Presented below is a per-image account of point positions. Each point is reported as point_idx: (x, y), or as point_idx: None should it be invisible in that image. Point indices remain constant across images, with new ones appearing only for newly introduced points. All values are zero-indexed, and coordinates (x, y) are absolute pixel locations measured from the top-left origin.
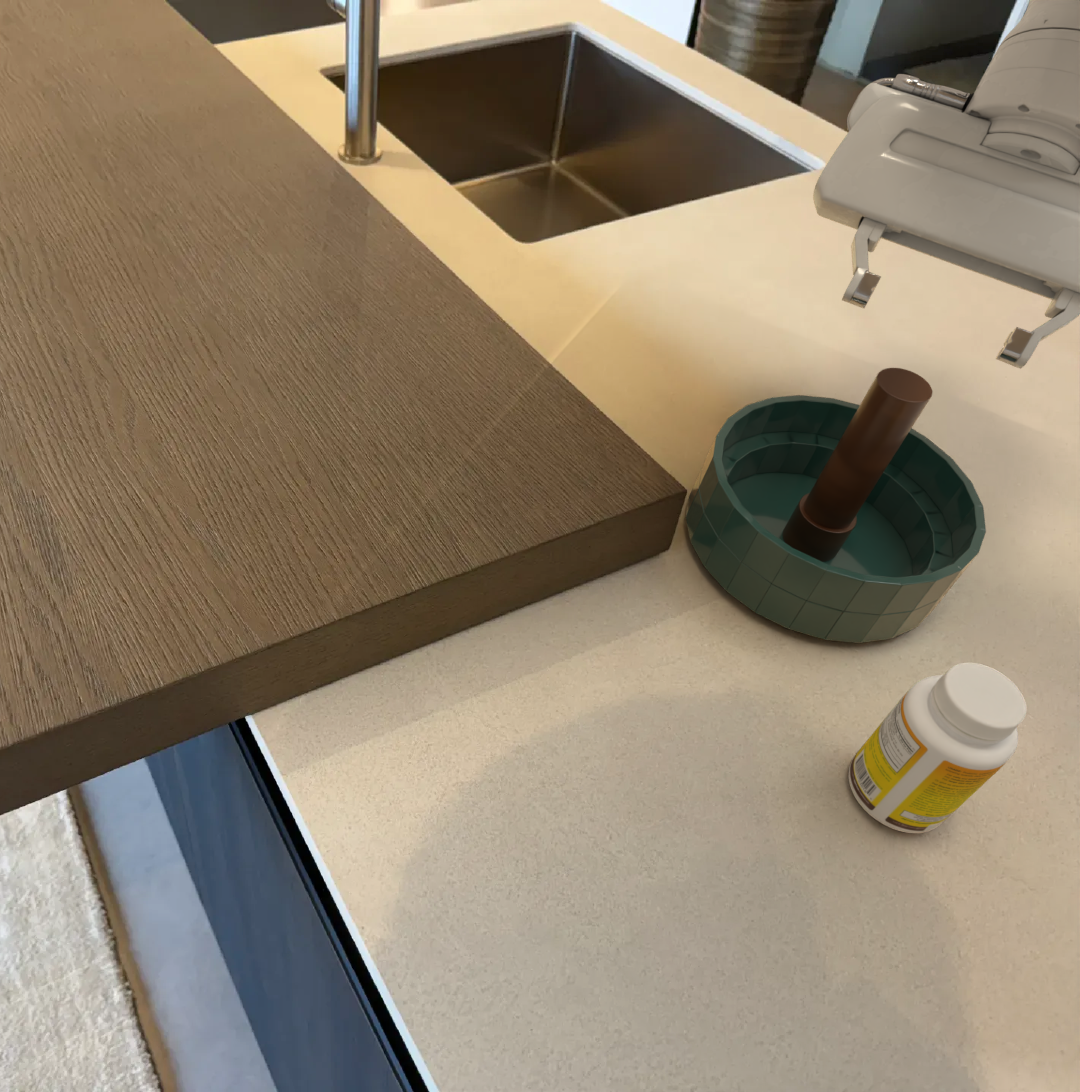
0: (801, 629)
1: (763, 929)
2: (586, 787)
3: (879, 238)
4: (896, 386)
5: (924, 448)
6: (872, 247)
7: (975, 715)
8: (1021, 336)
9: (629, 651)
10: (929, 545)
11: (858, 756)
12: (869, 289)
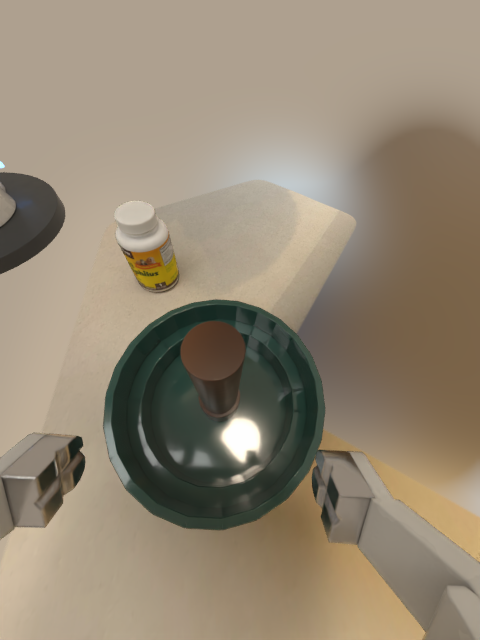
0: None
1: (198, 223)
2: (264, 237)
3: (454, 623)
4: (221, 338)
5: (153, 497)
6: (431, 622)
7: (140, 201)
8: (31, 463)
9: (277, 287)
10: (143, 413)
11: (177, 268)
12: (334, 465)
